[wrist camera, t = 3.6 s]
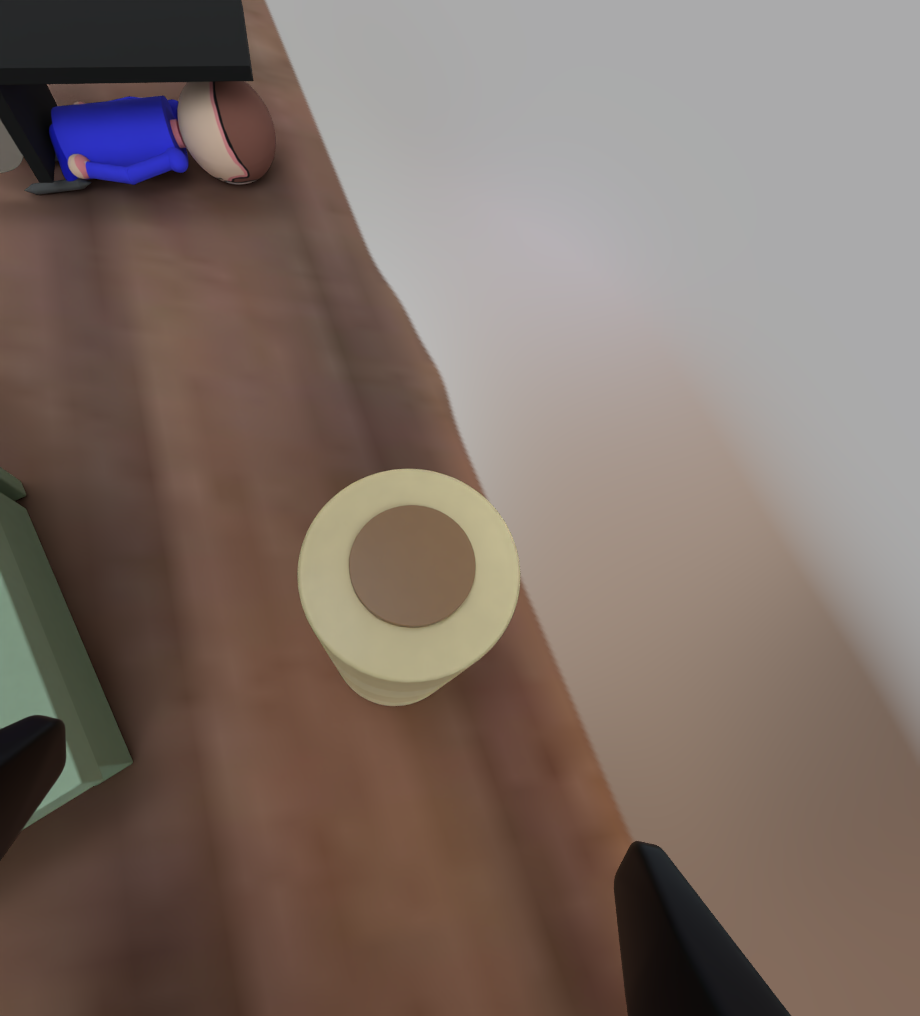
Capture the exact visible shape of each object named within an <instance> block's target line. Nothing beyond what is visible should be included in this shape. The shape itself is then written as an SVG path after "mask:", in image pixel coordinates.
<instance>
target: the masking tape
mask: <svg viewBox="0 0 920 1016" xmlns="http://www.w3.org/2000/svg"><path fill="white" fill-rule="evenodd" d="M297 576H298V590H299V595H300V600H301V604H302V607H303V610H304V613H305V615H306V618H307V620H308V622H309V624H310V626H311V627H312V629H313V631H314V633H315V634H316V636H317V638H318V639H319V641H320V642H321V644H322V646H323V647H324V649H325V650H326V652H327V654H328V655H329V657H330V658H331V660H332V662H333V663H334V665H335V666H336V668H337V670H338V671H339V673H340V674H341V676H342V678H343V679H344V680H345V682H346V683H347V684H348V685H349V686H350V688H351V689H352V690H353V691H355V692H356V693H357V694H359V695H360V696H361V697H363V698H365V699H367V700H369V701H371V702H374V703H377V704H381V705H386V706H403V705H408V704H412V703H415V702H418V701H420V700H422V699H424V698H426V697H428V696H429V695H431V694H432V693H434V692H435V691H437V690H438V689H439V688H441V687H442V686H444V685H445V684H446V683H448V682H449V681H450V680H452V679H453V678H455V677H456V676H457V675H459V674H460V673H461V672H463V671H464V670H466V669H467V668H468V667H470V666H471V665H473V664H474V663H475V662H477V661H478V660H479V659H480V658H482V657H483V656H484V655H485V654H486V653H487V652H488V651H490V650H491V648H492V647H493V646H494V645H495V644H496V643H497V641H498V640H499V639H500V638H501V636H502V634H503V633H504V631H505V630H506V628H507V627H508V625H509V622H510V620H511V618H512V616H513V614H514V611H515V607H516V604H517V601H518V595H519V589H520V565H519V558H518V554H517V549H516V546H515V543H514V540H513V538H512V535H511V533H510V531H509V529H508V527H507V525H506V523H505V522H504V520H503V519H502V517H501V516H500V514H499V513H498V511H497V510H496V509H495V508H494V507H493V506H492V505H491V503H490V502H489V501H488V500H486V499H485V498H484V497H483V496H482V495H481V494H480V493H478V492H477V491H476V490H474V489H473V488H471V487H470V486H468V485H467V484H465V483H463V482H461V481H459V480H457V479H455V478H452V477H450V476H447V475H445V474H441V473H437V472H433V471H428V470H421V469H396V470H389V471H384V472H379V473H376V474H373V475H370V476H367V477H365V478H362V479H360V480H358V481H356V482H354V483H352V484H351V485H349V486H348V487H346V488H344V489H343V490H341V491H340V492H339V493H338V494H337V495H335V496H334V497H333V498H332V499H331V500H330V501H329V502H328V503H327V504H326V505H325V506H324V507H323V508H322V509H321V511H320V512H319V513H318V515H317V516H316V517H315V519H314V520H313V522H312V524H311V526H310V527H309V529H308V531H307V533H306V536H305V539H304V541H303V544H302V547H301V551H300V556H299V561H298V572H297Z"/></svg>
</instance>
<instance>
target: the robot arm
mask: <svg viewBox="0 0 920 1016" xmlns="http://www.w3.org/2000/svg"><path fill="white" fill-rule="evenodd" d="M65 763H66V729H65V724H64V722H63V721H62V720H60V719H57V718H52V717H47V716H43V715H32V716H29V717H26V718H24V719H21V720H19V721H17V722H15V723H13V724H10V725H8V726H6V727H4V728H1V729H0V861H1V859H2V858H3V856H4V855H5V853H6V852H7V851H8V849H9V848H10V846H11V845H12V843H13V842H14V841H15V839H16V838H17V836H18V835H19V834H20V832H21V831H22V829H23V828H24V826H25V825H26V824H27V822H28V821H29V819H30V818H31V817H32V815H33V814H34V812H35V811H36V809H37V808H38V807H39V805H40V804H41V802H42V801H43V799H44V798H45V797H46V795H47V794H48V792H49V791H50V790H51V788H52V787H53V785H54V784H55V782H56V781H57V780H58V778H59V777H60V775H61V773H62V771H63V769H64V766H65ZM614 895H615V904H616V913H617V923H618V932H619V941H620V951H621V960H622V969H623V979H624V988H625V996H626V1004H627V1012H628V1016H791V1015H790V1014H789V1012H788V1011H787V1010H786V1008H785V1007H784V1006H783V1005H782V1004H781V1002H780V1001H779V999H778V998H777V997H776V996H775V995H774V993H773V992H772V991H771V989H770V988H769V986H768V985H767V984H766V983H765V981H764V980H763V979H762V977H761V976H760V975H759V973H758V972H757V971H756V970H755V968H754V967H753V966H752V964H751V963H750V962H749V960H748V959H747V958H746V957H745V955H744V954H743V953H742V951H741V950H740V949H739V948H738V946H737V945H736V944H735V943H734V941H733V940H732V939H731V937H730V936H729V935H728V933H727V932H726V931H725V930H724V928H723V927H722V926H721V924H720V923H719V922H718V920H717V919H716V918H715V916H714V915H713V914H712V913H711V911H710V910H709V909H708V907H707V906H706V905H705V904H704V902H703V901H702V900H701V898H700V897H699V896H698V894H697V893H696V892H695V890H694V889H693V888H692V887H691V885H690V884H689V883H688V882H687V880H686V879H685V878H684V876H683V875H682V874H681V872H680V871H679V870H678V869H677V867H676V866H675V865H674V863H673V862H672V861H671V860H670V858H669V857H668V855H667V854H666V853H665V852H664V851H663V850H662V849H661V848H660V847H659V846H657V845H654V844H649V843H645V842H639V841H635V842H633V843H632V844H631V845H630V847H629V849H628V851H627V853H626V855H625V857H624V859H623V861H622V862H621V864H620V866H619V868H618V870H617V872H616V875H615V880H614Z"/></svg>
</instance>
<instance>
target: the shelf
mask: <svg viewBox="0 0 920 1016" xmlns="http://www.w3.org/2000/svg"><path fill="white" fill-rule="evenodd" d="M25 496H26V492H25V490H24V488H23V485H22V483H21V481H19V480H18V479H17V478H15V477H14V476H12V475H11V474H9V473H8V472H7V471H5V470H4V469H2V468H1V467H0V729H1V728H4V727H6V726H8V725H10V724H13V723H15V722H17V721H19V720H21V719H24V718H26V717H29V716H32V715H43V716H47V717H52V718H57V719H60V720H62V721H63V722H64V724H65V729H66V763H65V766H64V769H63V771H62V773H61V775H60V777H59V778H58V780H57V781H56V782H55V784H54V785H53V787H52V788H51V790H50V791H49V792H48V794H47V795H46V797H45V798H44V799H43V801H42V802H41V804H40V805H39V807H38V808H37V809H36V811H35V812H34V814H33V815H32V817H31V818H30V819H29V821H28V822H27V824H26V825H25V826H24V828H23V829H25V828H26V827H28V826H30V825H31V824H33V823H35V822H36V821H38V820H39V819H41V818H43V817H44V816H46V815H47V814H49V813H51V812H52V811H54V810H56V809H57V808H59V807H60V806H62V805H64V804H65V803H67V802H68V801H70V800H72V799H73V798H75V797H77V796H78V795H80V794H81V793H83V792H85V791H86V790H88V789H89V788H91V787H93V786H96V785H98V784H100V783H102V782H103V781H105V780H107V779H108V778H110V777H111V776H113V775H115V774H116V773H118V772H119V771H121V770H123V769H124V768H126V767H128V766H129V765H131V764H132V763H133V761H132V758H131V756H130V754H129V751H128V749H127V746H126V744H125V742H124V739H123V737H122V735H121V732H120V730H119V728H118V725H117V723H116V720H115V718H114V716H113V713H112V711H111V709H110V706H109V704H108V702H107V699H106V697H105V694H104V692H103V690H102V687H101V685H100V683H99V680H98V678H97V675H96V673H95V671H94V668H93V666H92V664H91V661H90V659H89V657H88V654H87V652H86V649H85V647H84V645H83V642H82V640H81V638H80V635H79V633H78V631H77V628H76V626H75V623H74V621H73V619H72V616H71V614H70V612H69V609H68V607H67V604H66V602H65V600H64V597H63V595H62V593H61V590H60V588H59V586H58V583H57V581H56V578H55V576H54V574H53V571H52V569H51V567H50V564H49V562H48V559H47V557H46V555H45V552H44V550H43V548H42V545H41V543H40V541H39V538H38V536H37V533H36V531H35V529H34V526H33V524H32V522H31V519H30V517H29V515H28V512H27V510H26V508H24V507H23V506H21V505H19V504H18V503H16V502H15V500H18V499H20V498H22V497H25ZM23 829H22V830H23Z"/></svg>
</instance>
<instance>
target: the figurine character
mask: <svg viewBox="0 0 920 1016" xmlns="http://www.w3.org/2000/svg"><path fill="white" fill-rule="evenodd" d="M244 81H253V75H252V68H251V61H250V54H249V47H248V40H247V33H246V26H245V19H244V12H243V6H242V2H241V0H0V173H3V172H8V171H11V170H13V169H15V168H17V167H18V166H19V165H20V163H21V162H22V159H23V156H24V158H25V160H26V161H27V163H28V164H29V166H30V168H31V169H32V171H33V173H34V174H35V176H36V177H37V179H38V181H39V182H40V183H34V184H31V185H30V186H29V187H28V188H27V189H25V190H24V191H28V192H31V193H34V194H36V195H38V194H47V193H55V192H63V191H71V190H79V189H84V188H85V187H86V186H88V185H89V184H90V183H92V182H90V181H87V179H100V180H107V181H113V182H120V183H126V184H132V185H136V184H137V183H139V182H142V181H144V180H147V179H150V178H152V177H155V176H158V175H160V174H163V173H165V172H168V171H171V170H173V171H175V172H178V173H183V172H185V171H186V170H187V169H188V164H189V162H188V155H187V150H186V147H187V149H188V151H189V152H190V154H191V155H192V157H193V158H194V159H195V161H196V162H197V163H198V164H199V165H200V166H201V167H202V168H203V169H204V170H205V171H206V172H208V173H209V174H210V175H212V176H214V177H215V178H217V179H219V180H221V181H224V182H227V183H231V184H247V183H251V182H254V181H256V180H258V179H259V178H261V177H262V176H263V175H264V174H265V173H266V172H267V170H268V169H269V167H270V166H271V164H272V161H273V159H274V155H275V149H276V136H275V129H274V125H273V121H272V118H271V116H270V113H269V111H268V109H267V107H266V105H265V104H264V102H263V101H262V99H261V98H260V96H259V95H258V94H257V93H256V92H255V90H254V89H253V88H252V87H251V86H249V85H248V84H247V83H246V82H244ZM151 82H187V83H186V85H185V86H184V88H183V90H182V92H181V94H180V97H179V101H176V100H172V99H171V100H167V99H166V98H165V97H164V96H155V97H146V98H137V97H130V96H128V97H124V98H120V99H116V100H111V101H106V102H96V103H86V104H85V103H83V102H76V103H74V104H73V105H67V106H57V104H56V102H55V100H54V98H53V96H52V94H51V92H50V90H49V88H48V86H47V84H84V83H151ZM55 161H59V164H60V167H61V170H62V173H63V175H64V177H65V179H66V180H59V181H54V168H55ZM80 178H81V179H80ZM83 179H85V180H83Z"/></svg>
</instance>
